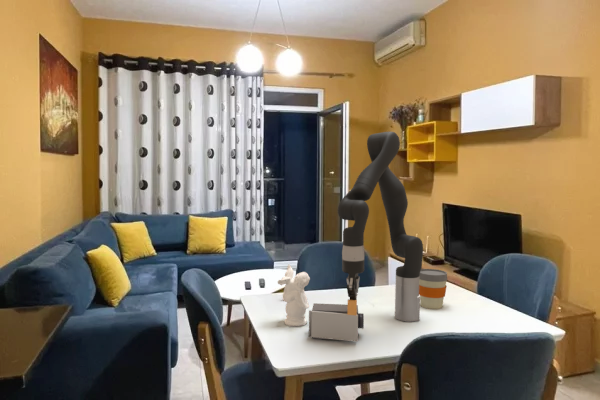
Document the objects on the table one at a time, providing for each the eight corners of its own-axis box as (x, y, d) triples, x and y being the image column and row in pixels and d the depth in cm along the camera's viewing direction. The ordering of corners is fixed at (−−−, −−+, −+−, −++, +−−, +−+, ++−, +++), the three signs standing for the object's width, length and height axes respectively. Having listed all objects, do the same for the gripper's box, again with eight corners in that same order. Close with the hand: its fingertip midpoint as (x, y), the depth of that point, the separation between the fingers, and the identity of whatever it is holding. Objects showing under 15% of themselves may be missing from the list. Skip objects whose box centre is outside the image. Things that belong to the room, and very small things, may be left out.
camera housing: (362, 332, 166) (363, 305, 165) (363, 340, 158) (364, 312, 157) (313, 330, 168) (313, 303, 167) (311, 338, 160) (312, 310, 159)
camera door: (357, 340, 155) (358, 300, 154) (357, 341, 154) (358, 301, 153) (309, 335, 159) (309, 296, 158) (308, 336, 158) (308, 297, 157)
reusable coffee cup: (414, 308, 195) (415, 273, 194) (418, 300, 206) (419, 267, 205) (445, 311, 190) (446, 276, 189) (447, 303, 202) (448, 270, 201)
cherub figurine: (312, 325, 173) (314, 268, 171) (284, 331, 166) (285, 272, 164) (295, 316, 183) (296, 262, 181) (268, 321, 176) (269, 265, 174)
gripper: (361, 262, 148) (361, 314, 150) (366, 254, 161) (366, 302, 163) (338, 261, 150) (339, 312, 152) (345, 253, 163) (345, 300, 165)
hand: (353, 307), depth 157 cm, fingers closed
